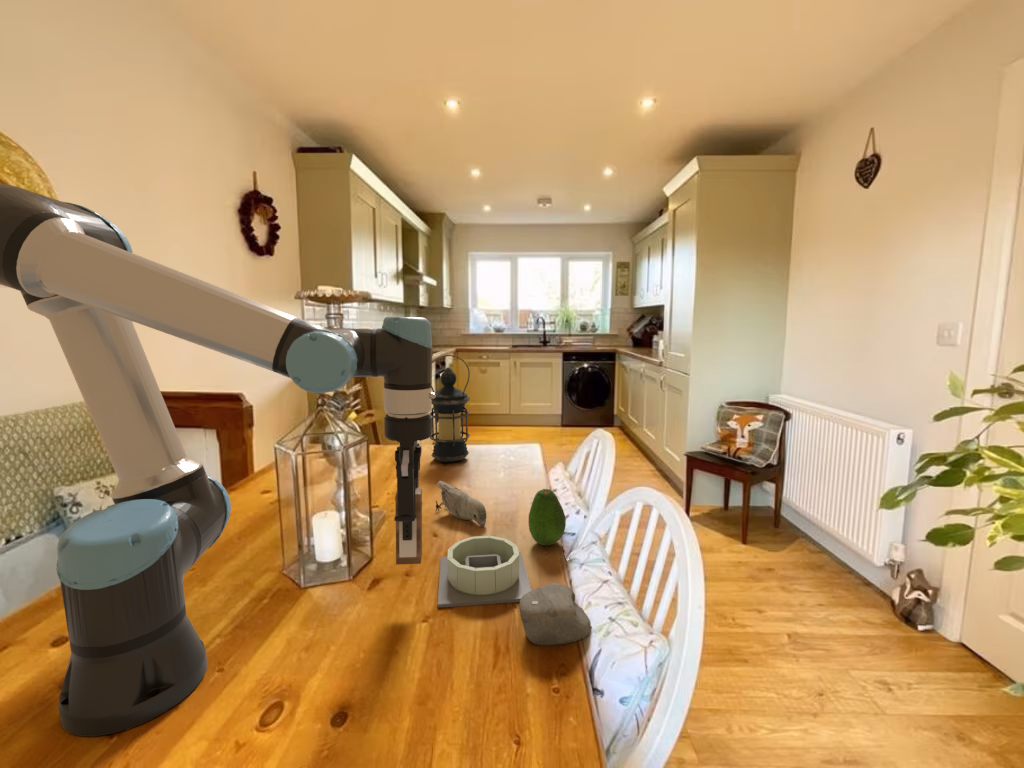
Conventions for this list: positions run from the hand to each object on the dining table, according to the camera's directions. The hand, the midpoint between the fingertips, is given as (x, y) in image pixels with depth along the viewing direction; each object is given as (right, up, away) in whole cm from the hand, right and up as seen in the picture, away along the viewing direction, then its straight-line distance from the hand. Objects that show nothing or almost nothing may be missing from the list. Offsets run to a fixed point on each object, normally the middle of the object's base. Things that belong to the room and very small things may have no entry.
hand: (409, 550), depth 81 cm
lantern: (-3, +2, +81) cm, 81 cm away
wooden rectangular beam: (0, -2, 0) cm, 2 cm away
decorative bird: (+5, -4, +34) cm, 35 cm away
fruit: (+25, -6, +21) cm, 33 cm away
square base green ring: (+12, -8, +8) cm, 16 cm away
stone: (+24, -10, -7) cm, 27 cm away
